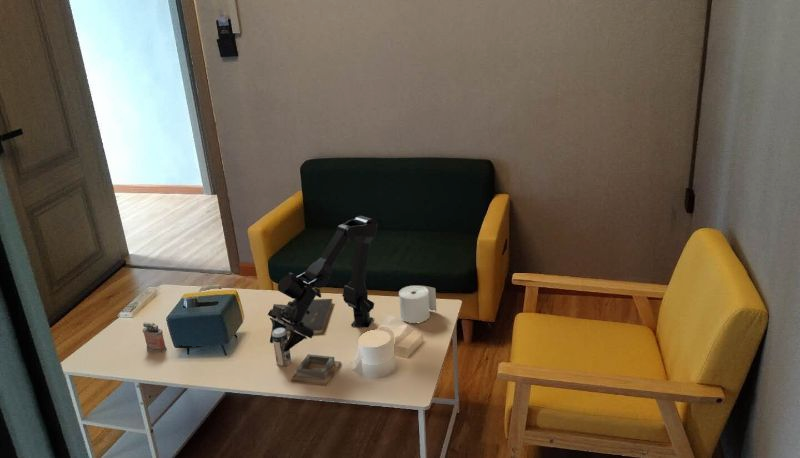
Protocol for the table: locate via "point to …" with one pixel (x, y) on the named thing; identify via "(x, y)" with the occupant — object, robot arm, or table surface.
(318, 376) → the socket board
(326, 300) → the hardcover book
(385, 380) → the table surface
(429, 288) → the toilet tissue
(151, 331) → the lighter
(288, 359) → the beer can
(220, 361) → the table surface
